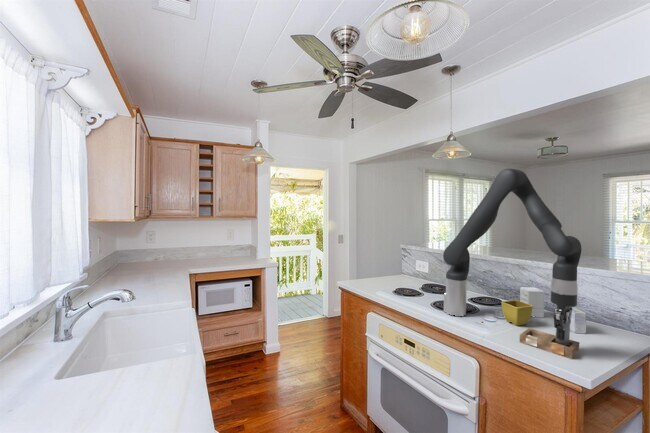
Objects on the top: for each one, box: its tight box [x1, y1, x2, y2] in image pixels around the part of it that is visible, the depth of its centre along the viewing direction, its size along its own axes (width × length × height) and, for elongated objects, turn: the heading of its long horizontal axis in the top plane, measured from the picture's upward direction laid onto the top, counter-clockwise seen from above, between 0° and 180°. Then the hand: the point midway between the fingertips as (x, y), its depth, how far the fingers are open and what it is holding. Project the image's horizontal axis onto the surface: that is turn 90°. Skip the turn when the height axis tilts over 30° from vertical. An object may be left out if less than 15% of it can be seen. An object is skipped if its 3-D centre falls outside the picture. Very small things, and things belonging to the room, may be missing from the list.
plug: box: [555, 319, 571, 347], centre depth 110 cm, size 4×4×10 cm
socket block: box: [519, 327, 580, 360], centre depth 113 cm, size 16×10×3 cm, turn 39°
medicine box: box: [570, 306, 587, 335], centre depth 128 cm, size 8×4×9 cm, turn 168°
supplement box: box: [519, 286, 546, 318], centre depth 145 cm, size 7×7×13 cm
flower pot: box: [500, 299, 533, 327], centre depth 135 cm, size 9×9×9 cm
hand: (562, 337), depth 110 cm, fingers closed on plug, 4 cm apart
